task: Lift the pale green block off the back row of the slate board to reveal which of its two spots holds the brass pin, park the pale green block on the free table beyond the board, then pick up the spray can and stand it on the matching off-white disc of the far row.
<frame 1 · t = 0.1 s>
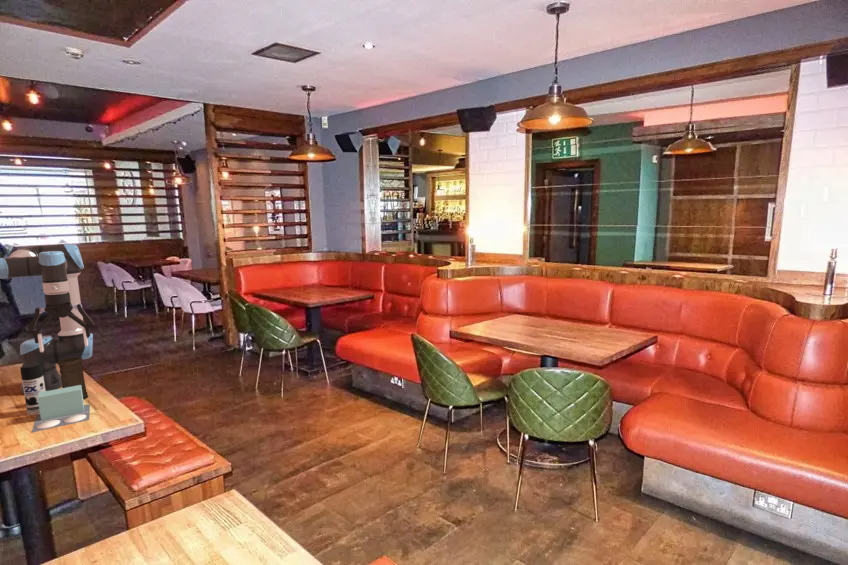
hand: (64, 348, 179), 28 cm above the table, fingers open, 13 cm apart
spray can: (38, 413, 189), on the table
container: (76, 401, 201), on the table
slate board: (63, 419, 182), on the table
pale green block: (63, 412, 186), point 1 cm above the table, touching slate board
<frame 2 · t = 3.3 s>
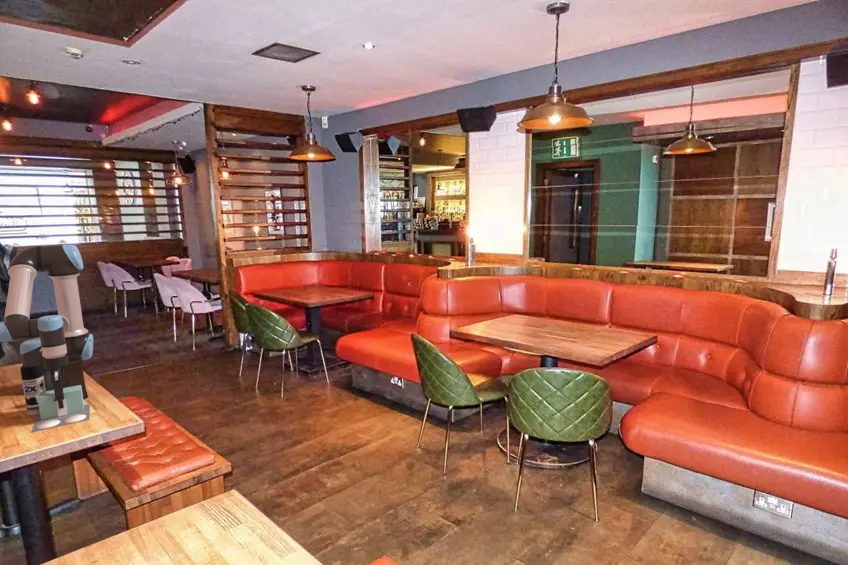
hand: (63, 412, 186), 1 cm above the table, fingers open, 7 cm apart
nothing on the table moved.
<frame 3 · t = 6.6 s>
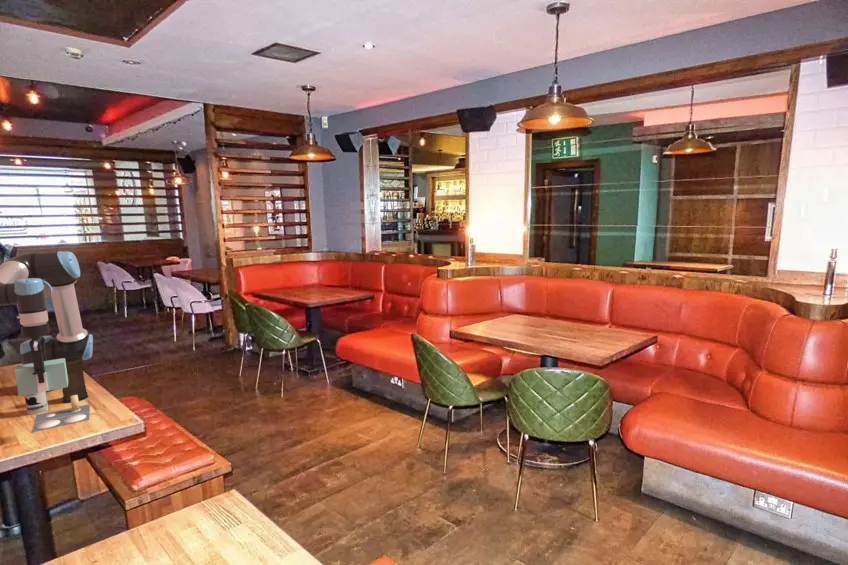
hand: (44, 388, 165), 18 cm above the table, fingers closed on pale green block, 7 cm apart
pale green block: (44, 388, 165), point 18 cm above the table, touching gripper
everything else where it was.
when the fingers open (2 cm above the table, at t = 9.3 s): pale green block drops 2 cm, on the table.
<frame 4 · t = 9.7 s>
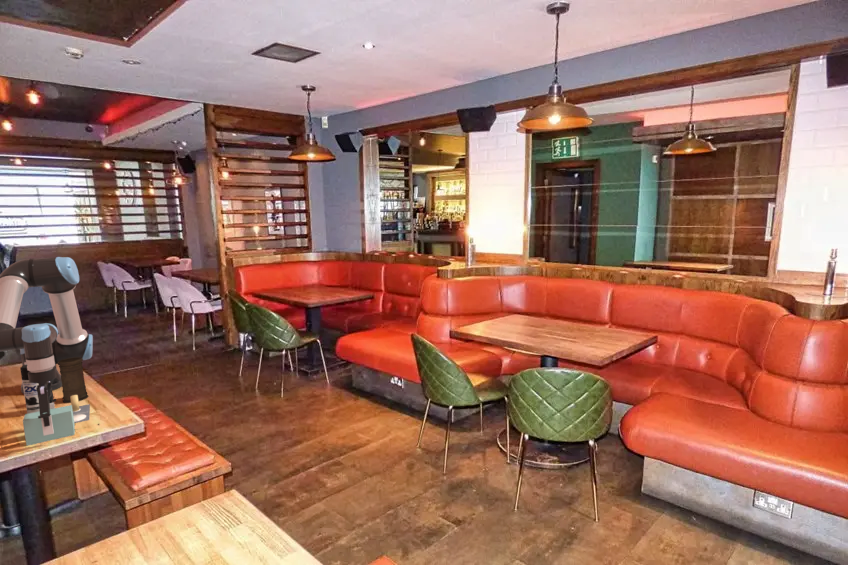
hand: (50, 427, 168), 4 cm above the table, fingers open, 12 cm apart
pale green block: (51, 436, 168), on the table
everything else where it was.
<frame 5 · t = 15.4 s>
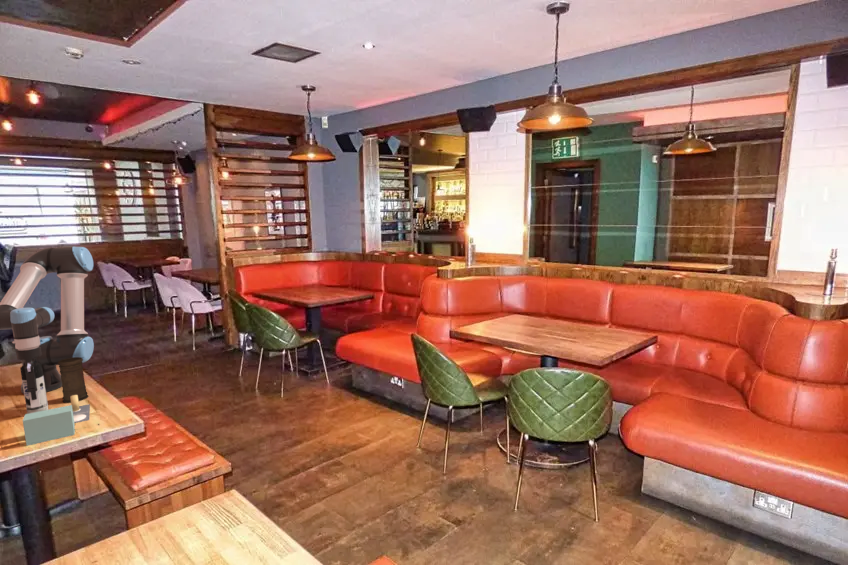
hand: (36, 403, 188), 4 cm above the table, fingers closed on spray can, 7 cm apart
spray can: (38, 413, 189), on the table, touching gripper
everything else where it was.
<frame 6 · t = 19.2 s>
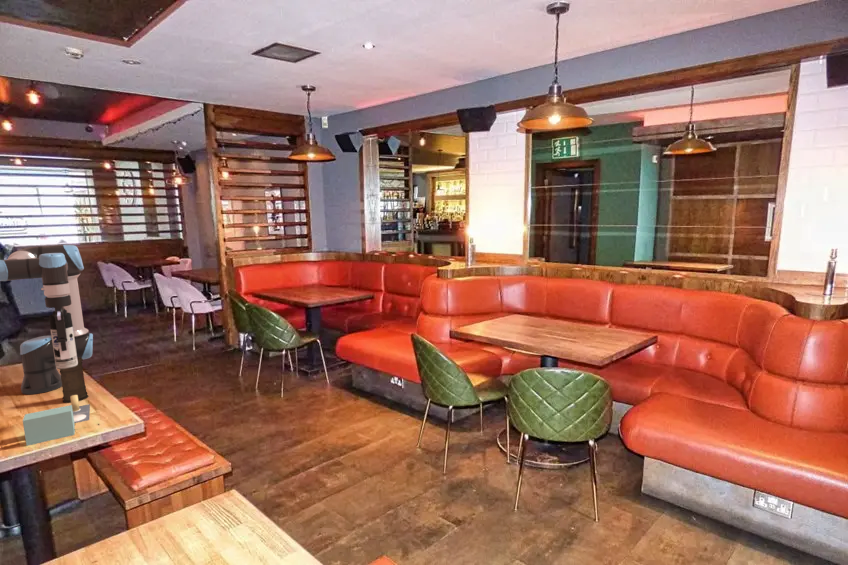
hand: (66, 356, 176), 26 cm above the table, fingers closed on spray can, 7 cm apart
spray can: (67, 367, 177), point 21 cm above the table, touching gripper
everything else where it was.
when the fingers open (7 cm above the table, at t = 22.9 s): spray can drops 1 cm, resting on slate board.
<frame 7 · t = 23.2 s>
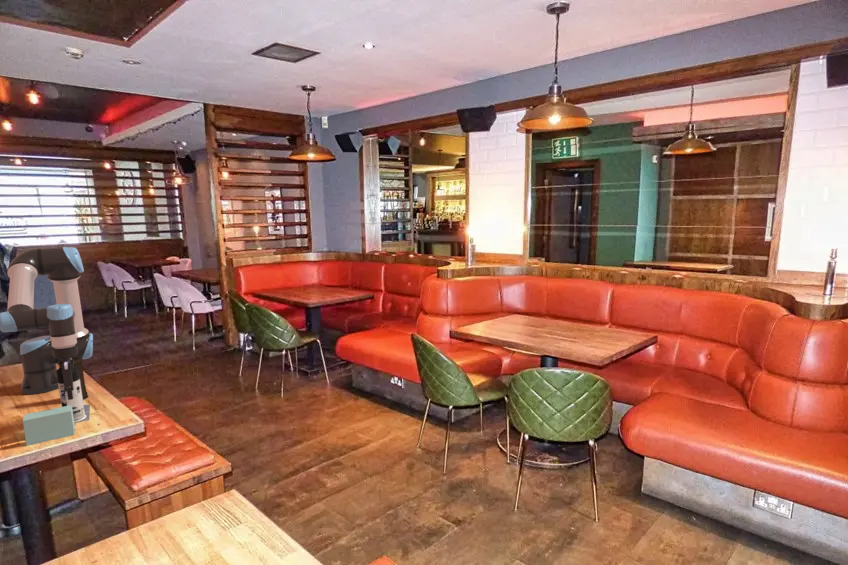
hand: (72, 402, 179), 8 cm above the table, fingers open, 11 cm apart
spray can: (74, 418, 180), point 1 cm above the table, touching slate board
everything else where it was.
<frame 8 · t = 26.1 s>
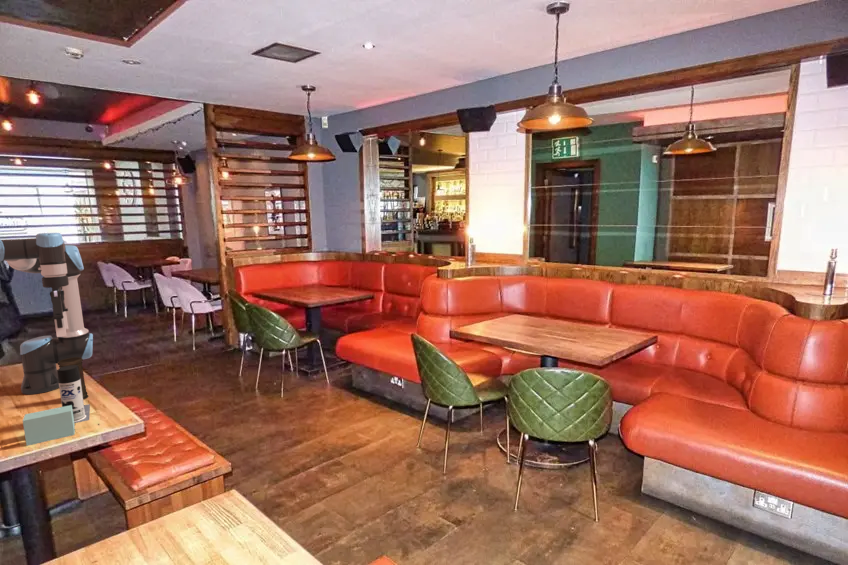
hand: (62, 332, 175), 35 cm above the table, fingers open, 13 cm apart
nothing on the table moved.
at the end: spray can inside the target area (0.3 cm from its centre), point 1.0 cm above the table; spray can tilted 1°; pale green block moved 20.4 cm from its start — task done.
